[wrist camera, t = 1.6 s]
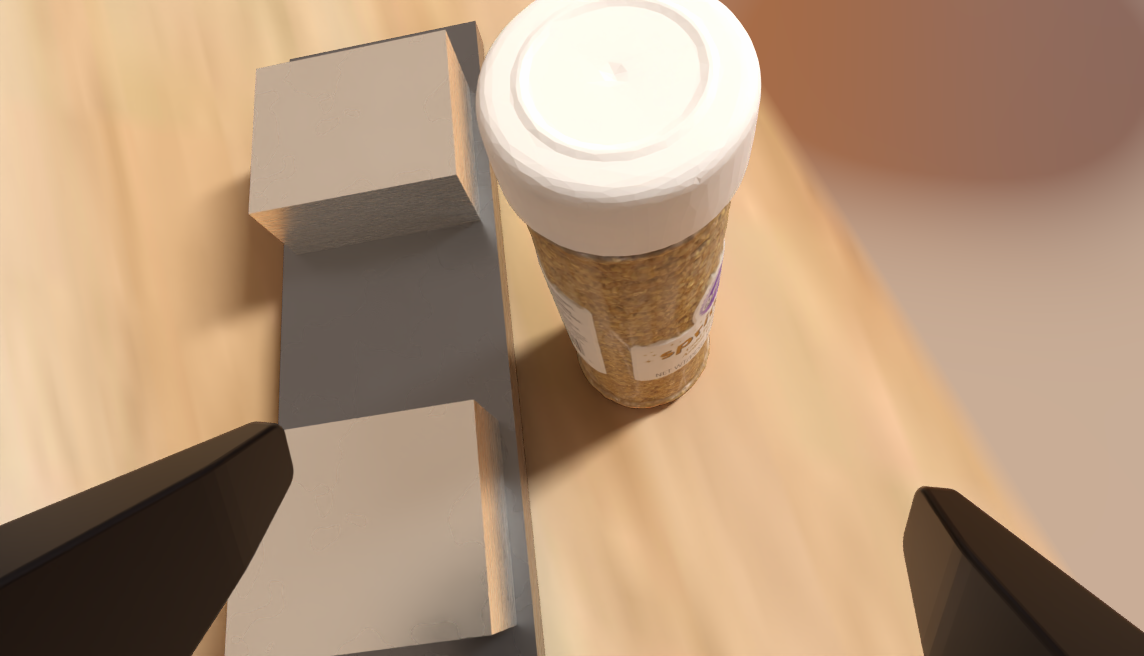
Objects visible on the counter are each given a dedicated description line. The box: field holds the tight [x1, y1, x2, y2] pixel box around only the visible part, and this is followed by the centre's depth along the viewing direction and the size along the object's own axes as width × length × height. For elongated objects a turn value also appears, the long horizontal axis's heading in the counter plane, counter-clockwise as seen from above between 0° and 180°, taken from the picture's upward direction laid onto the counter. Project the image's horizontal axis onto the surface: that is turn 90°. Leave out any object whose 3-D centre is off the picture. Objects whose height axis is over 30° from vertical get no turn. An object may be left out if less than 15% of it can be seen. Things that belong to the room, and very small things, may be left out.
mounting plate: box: [225, 21, 545, 656], centre depth 22 cm, size 26×8×4 cm, turn 7°
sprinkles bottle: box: [476, 0, 761, 408], centre depth 16 cm, size 5×5×14 cm
